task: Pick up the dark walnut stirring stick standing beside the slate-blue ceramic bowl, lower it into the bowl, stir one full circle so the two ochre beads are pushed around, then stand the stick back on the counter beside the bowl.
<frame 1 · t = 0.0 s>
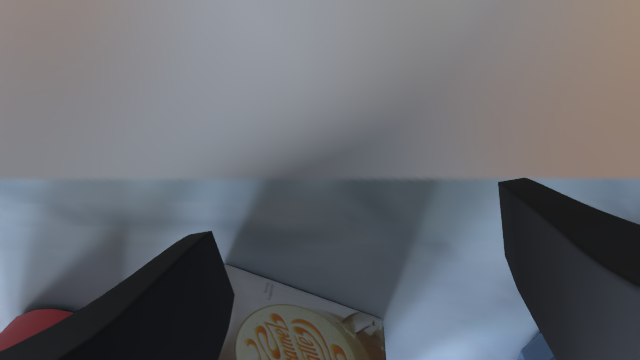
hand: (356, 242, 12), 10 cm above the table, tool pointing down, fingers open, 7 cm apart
beer can: (69, 345, 28), on the table
coffee box: (289, 330, 27), on the table
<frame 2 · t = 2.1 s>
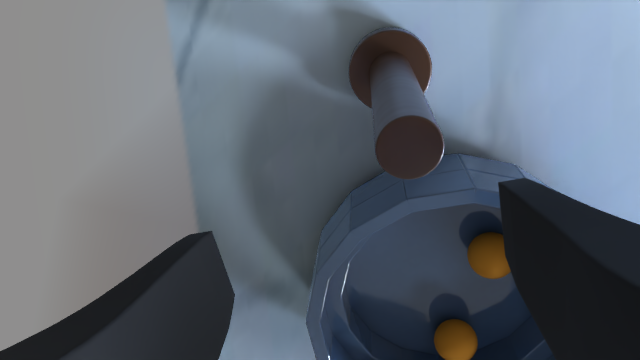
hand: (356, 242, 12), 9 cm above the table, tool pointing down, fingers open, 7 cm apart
bead a: (455, 340, 23), point 1 cm above the table, touching bowl
bowl: (443, 270, 23), on the table
bead b: (491, 255, 21), point 1 cm above the table, touching bowl
stick: (389, 68, 20), on the table
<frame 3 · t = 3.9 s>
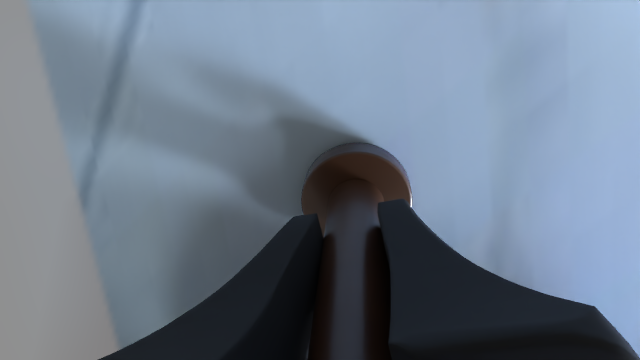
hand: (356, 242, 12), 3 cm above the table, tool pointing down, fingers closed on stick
stick: (356, 191, 15), on the table, touching gripper
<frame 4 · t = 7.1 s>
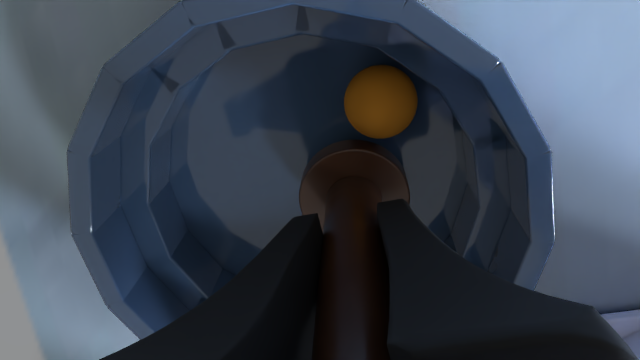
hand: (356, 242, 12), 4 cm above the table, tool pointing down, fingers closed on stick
bowl: (316, 174, 16), on the table
bead b: (380, 102, 13), point 1 cm above the table, tilted 58°, touching bowl
stick: (353, 188, 15), point 1 cm above the table, touching gripper
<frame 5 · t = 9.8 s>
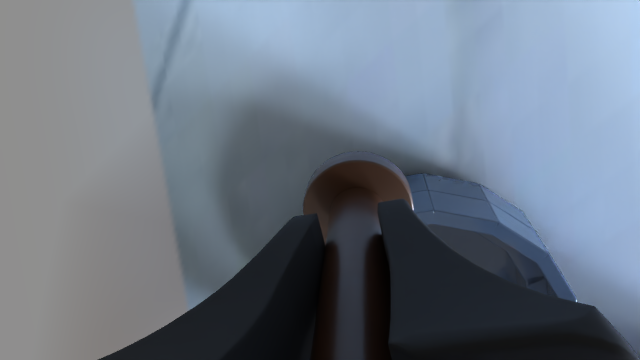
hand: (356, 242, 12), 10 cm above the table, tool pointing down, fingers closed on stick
bowl: (414, 284, 24), on the table
stick: (358, 200, 15), point 7 cm above the table, touching gripper
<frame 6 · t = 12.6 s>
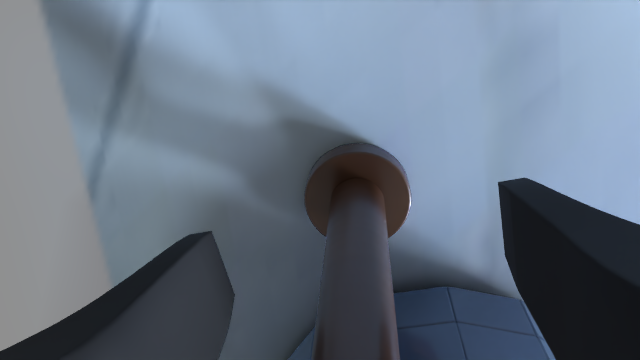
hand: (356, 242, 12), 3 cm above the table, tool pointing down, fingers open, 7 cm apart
stick: (357, 190, 15), on the table
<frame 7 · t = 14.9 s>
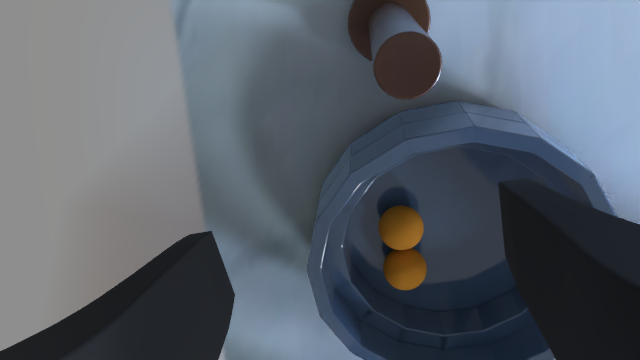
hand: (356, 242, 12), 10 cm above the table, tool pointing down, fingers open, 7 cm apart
bead a: (404, 268, 23), point 1 cm above the table, tilted 109°, touching bowl
bowl: (444, 224, 23), on the table
bead b: (400, 227, 22), point 1 cm above the table, tilted 130°, touching bowl
stick: (387, 21, 20), on the table
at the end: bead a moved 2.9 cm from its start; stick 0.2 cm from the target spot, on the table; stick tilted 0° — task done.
